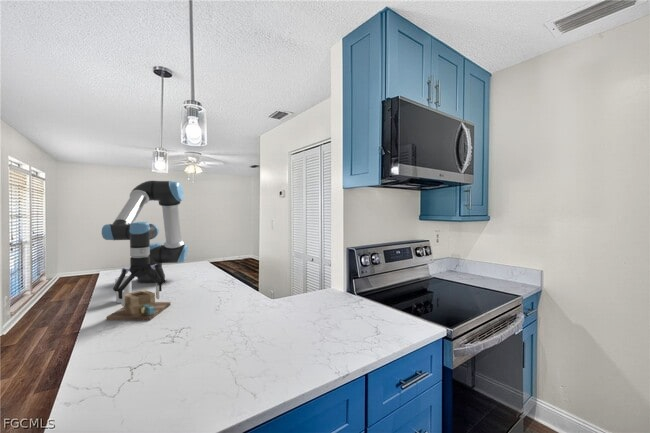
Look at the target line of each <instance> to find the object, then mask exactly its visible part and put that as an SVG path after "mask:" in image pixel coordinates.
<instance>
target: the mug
mask: <svg viewBox="0 0 650 433" xmlns="http://www.w3.org/2000/svg"><path fill="white" fill-rule="evenodd" d="M129 276H130V275H125V277H124V279H123V281H122V283H121V284H120V286H121V285H122V284H123V283H124V282H125V281H126V279H127V278H128V277H129ZM119 277H120V276H118V277H115V280H114V285H115V284H116V282H117V280H118V279H119ZM132 280H133V279H132ZM132 280H131V282H130V283H129V284H128V285H127V286H126V287H125V289H124V293H125V294H129V293H132V284H133V283H132V282H133V281H132ZM120 286H119V287H120ZM115 302H116V303H117V304H121V299H119V297H118V292H117V291H115Z"/></svg>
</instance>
